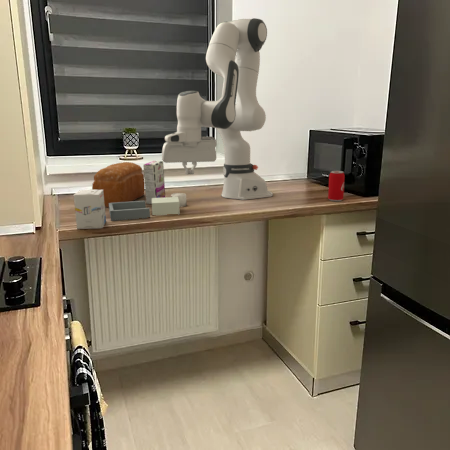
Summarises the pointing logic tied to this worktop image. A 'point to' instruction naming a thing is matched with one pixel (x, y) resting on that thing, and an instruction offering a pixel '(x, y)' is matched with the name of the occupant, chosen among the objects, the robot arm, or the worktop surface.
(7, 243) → the worktop surface
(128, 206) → the grey rectangular tray
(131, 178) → the bread
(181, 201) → the white rounded block
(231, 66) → the robot arm
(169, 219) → the worktop surface
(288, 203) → the worktop surface
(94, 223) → the ink box
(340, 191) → the beverage can
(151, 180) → the candy bar box
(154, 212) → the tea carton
